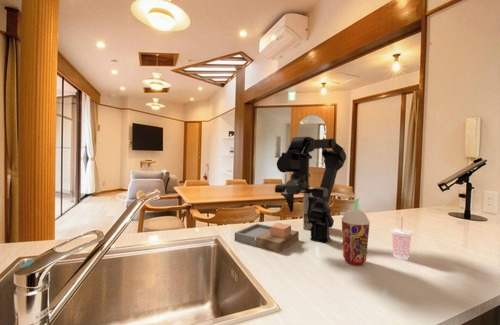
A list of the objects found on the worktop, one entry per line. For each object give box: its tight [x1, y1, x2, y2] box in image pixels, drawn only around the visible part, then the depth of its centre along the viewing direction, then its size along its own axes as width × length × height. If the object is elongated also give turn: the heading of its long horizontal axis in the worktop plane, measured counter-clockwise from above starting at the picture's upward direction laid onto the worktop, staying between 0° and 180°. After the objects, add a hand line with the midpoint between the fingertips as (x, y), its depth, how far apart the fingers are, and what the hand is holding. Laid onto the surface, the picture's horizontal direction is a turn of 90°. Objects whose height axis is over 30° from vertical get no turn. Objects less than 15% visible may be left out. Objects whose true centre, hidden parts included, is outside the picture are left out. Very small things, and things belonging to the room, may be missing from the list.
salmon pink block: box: [269, 222, 292, 238], centre depth 94 cm, size 6×6×4 cm
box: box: [234, 223, 271, 247], centre depth 101 cm, size 10×16×3 cm, turn 145°
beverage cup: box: [390, 215, 413, 260], centre depth 83 cm, size 6×6×14 cm
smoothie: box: [341, 200, 371, 267], centre depth 78 cm, size 8×8×20 cm
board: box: [255, 229, 300, 254], centre depth 95 cm, size 10×16×4 cm, turn 145°
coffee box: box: [302, 193, 312, 230], centre depth 116 cm, size 9×6×16 cm
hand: (300, 213), depth 89 cm, fingers open, 7 cm apart
